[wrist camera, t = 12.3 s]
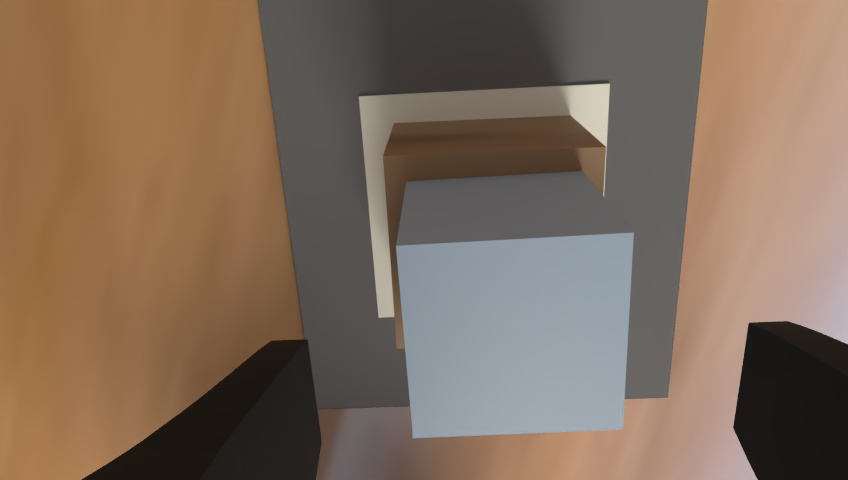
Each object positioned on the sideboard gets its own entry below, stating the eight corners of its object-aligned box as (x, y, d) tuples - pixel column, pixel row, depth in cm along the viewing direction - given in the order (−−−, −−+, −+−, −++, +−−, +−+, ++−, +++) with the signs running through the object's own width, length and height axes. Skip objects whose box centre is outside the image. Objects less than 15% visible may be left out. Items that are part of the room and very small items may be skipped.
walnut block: (564, 276, 20) (594, 342, 16) (404, 282, 20) (396, 348, 16) (570, 115, 18) (606, 146, 14) (394, 122, 18) (382, 156, 14)
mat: (661, 387, 22) (668, 399, 21) (317, 399, 22) (313, 411, 22) (704, -59, 17) (715, -61, 16) (258, -33, 17) (251, -34, 17)
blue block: (578, 326, 16) (622, 429, 12) (418, 334, 16) (413, 438, 12) (582, 171, 14) (633, 232, 11) (406, 181, 14) (396, 245, 11)
